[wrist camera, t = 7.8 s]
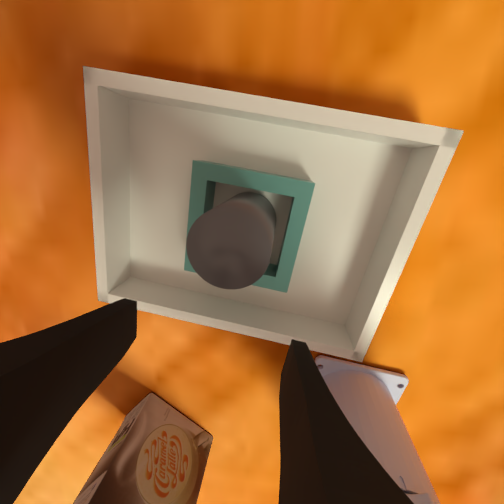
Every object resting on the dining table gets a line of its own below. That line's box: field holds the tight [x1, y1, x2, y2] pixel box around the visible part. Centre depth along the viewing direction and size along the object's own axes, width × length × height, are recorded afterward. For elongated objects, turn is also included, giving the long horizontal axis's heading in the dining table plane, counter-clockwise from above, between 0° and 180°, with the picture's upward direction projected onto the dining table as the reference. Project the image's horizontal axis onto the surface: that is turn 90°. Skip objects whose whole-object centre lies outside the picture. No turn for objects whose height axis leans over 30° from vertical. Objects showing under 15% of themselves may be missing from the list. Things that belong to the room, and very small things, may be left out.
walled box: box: [83, 66, 464, 362], centre depth 17 cm, size 15×20×4 cm
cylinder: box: [186, 192, 276, 289], centre depth 15 cm, size 4×4×7 cm
